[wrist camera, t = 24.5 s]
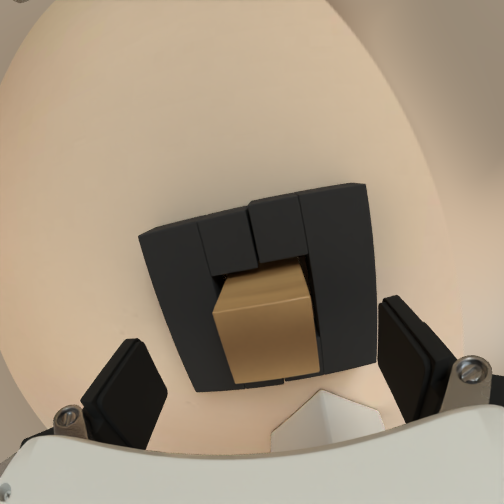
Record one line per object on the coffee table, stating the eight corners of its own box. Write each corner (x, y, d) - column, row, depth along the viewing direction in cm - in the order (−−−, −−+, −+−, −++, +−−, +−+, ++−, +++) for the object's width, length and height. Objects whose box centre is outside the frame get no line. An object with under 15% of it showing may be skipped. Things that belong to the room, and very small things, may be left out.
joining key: (230, 266, 17) (211, 312, 11) (296, 254, 16) (310, 295, 10) (245, 323, 18) (234, 384, 12) (306, 312, 17) (320, 372, 11)
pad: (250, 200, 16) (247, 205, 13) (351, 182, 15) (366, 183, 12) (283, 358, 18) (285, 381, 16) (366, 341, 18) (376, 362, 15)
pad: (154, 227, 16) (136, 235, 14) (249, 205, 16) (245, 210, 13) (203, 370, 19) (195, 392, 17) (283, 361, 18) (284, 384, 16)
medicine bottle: (328, 449, 21) (341, 548, 10) (269, 432, 21) (264, 548, 9) (379, 409, 19) (416, 517, 8) (320, 386, 19) (343, 526, 7)
